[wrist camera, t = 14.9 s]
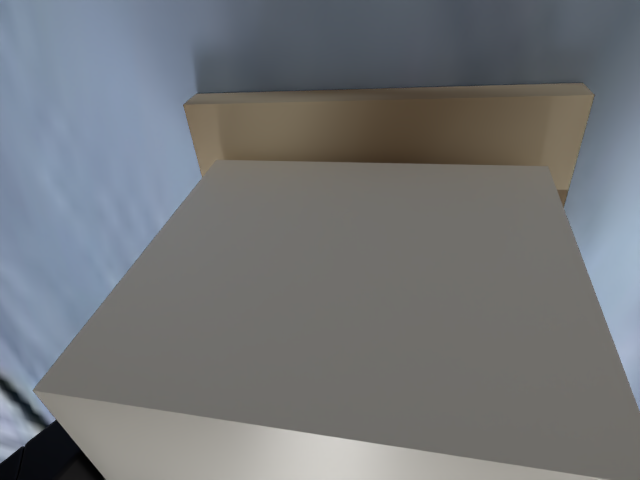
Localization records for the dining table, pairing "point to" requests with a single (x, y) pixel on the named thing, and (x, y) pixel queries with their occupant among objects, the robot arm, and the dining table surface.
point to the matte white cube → (353, 335)
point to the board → (398, 126)
